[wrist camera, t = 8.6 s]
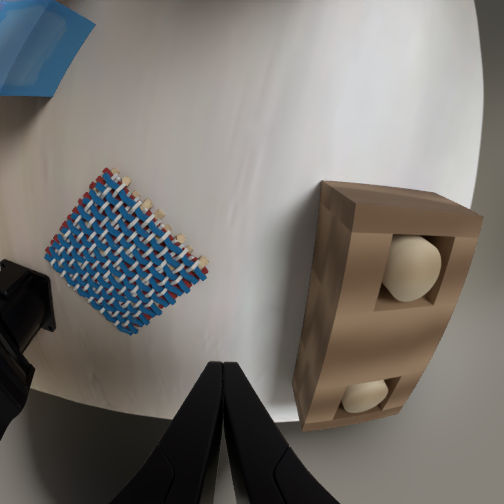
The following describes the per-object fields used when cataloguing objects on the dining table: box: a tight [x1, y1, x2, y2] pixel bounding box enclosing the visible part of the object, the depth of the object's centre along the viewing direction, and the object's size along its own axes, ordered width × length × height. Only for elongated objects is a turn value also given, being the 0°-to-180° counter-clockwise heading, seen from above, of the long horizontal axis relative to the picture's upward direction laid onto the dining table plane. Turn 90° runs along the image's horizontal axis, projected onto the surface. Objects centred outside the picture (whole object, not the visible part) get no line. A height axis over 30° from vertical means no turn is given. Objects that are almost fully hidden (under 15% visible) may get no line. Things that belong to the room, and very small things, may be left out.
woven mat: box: [44, 167, 209, 336], centre depth 20 cm, size 10×11×2 cm
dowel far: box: [341, 380, 388, 413], centre depth 23 cm, size 4×4×6 cm
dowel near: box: [382, 234, 441, 302], centre depth 18 cm, size 4×4×6 cm
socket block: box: [292, 180, 483, 432], centre depth 20 cm, size 20×10×6 cm, turn 178°
